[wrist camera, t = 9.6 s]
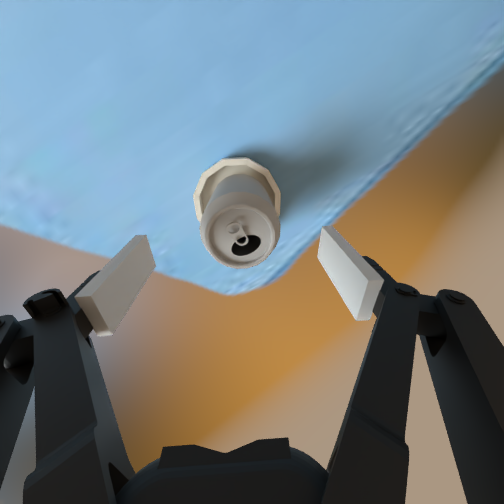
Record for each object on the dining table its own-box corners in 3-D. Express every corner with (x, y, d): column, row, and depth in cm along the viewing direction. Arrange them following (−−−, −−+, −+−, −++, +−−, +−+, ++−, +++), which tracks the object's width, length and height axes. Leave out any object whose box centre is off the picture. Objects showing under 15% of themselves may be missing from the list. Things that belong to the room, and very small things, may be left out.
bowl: (191, 158, 26) (187, 160, 24) (278, 155, 27) (281, 157, 25) (204, 238, 32) (201, 245, 30) (276, 234, 32) (278, 241, 30)
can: (231, 236, 31) (226, 287, 20) (201, 190, 28) (177, 224, 17) (277, 212, 29) (297, 254, 19) (251, 161, 26) (258, 178, 16)
